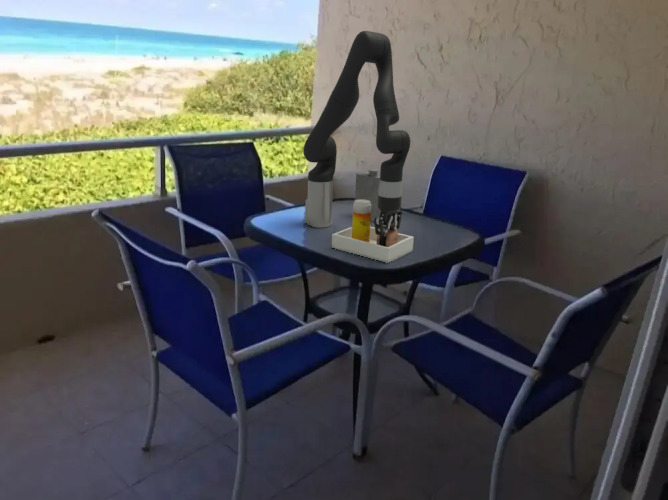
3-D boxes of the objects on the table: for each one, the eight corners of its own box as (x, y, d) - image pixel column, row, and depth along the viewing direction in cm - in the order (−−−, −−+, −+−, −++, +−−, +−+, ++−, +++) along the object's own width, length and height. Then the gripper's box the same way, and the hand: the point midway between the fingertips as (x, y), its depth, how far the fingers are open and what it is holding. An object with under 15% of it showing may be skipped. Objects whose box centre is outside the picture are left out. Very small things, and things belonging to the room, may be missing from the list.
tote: (331, 248, 194) (332, 234, 193) (358, 237, 207) (359, 223, 205) (387, 263, 182) (388, 248, 181) (412, 251, 194) (413, 236, 193)
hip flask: (391, 222, 226) (394, 171, 219) (385, 224, 223) (388, 173, 216) (357, 214, 234) (359, 165, 228) (351, 216, 231) (353, 167, 225)
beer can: (367, 247, 194) (370, 204, 189) (349, 246, 195) (351, 202, 190) (370, 242, 199) (372, 200, 194) (353, 240, 200) (355, 198, 195)
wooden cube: (376, 246, 190) (377, 232, 188) (384, 242, 194) (385, 228, 192) (389, 249, 187) (390, 235, 186) (397, 246, 191) (398, 231, 189)
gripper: (388, 200, 177) (385, 252, 183) (411, 191, 188) (407, 241, 194) (367, 195, 181) (365, 247, 187) (391, 188, 192) (388, 237, 198)
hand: (386, 244), depth 190 cm, fingers closed on wooden cube, 4 cm apart
